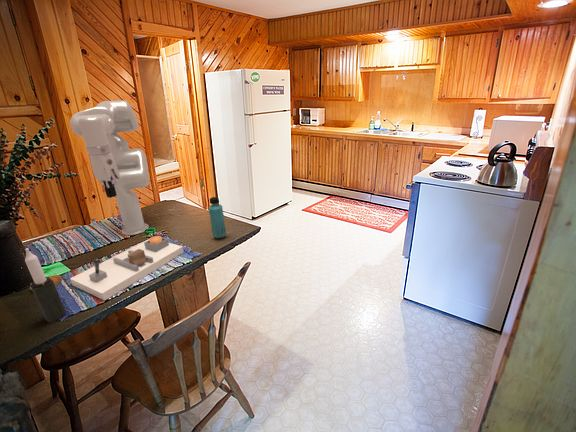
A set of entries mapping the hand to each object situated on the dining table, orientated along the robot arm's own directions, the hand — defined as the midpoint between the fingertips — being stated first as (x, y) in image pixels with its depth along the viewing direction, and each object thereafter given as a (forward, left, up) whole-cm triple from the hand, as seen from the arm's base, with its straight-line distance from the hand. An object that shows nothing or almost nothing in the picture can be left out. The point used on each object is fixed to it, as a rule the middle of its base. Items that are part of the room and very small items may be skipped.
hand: (112, 196), depth 124 cm
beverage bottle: (+26, +30, -27) cm, 48 cm away
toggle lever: (+11, -19, -22) cm, 31 cm away
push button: (+11, +7, -24) cm, 27 cm away
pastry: (-7, -29, -28) cm, 41 cm away
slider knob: (+16, -6, -24) cm, 29 cm away
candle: (+14, -36, -27) cm, 47 cm away
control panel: (+11, -6, -27) cm, 30 cm away
